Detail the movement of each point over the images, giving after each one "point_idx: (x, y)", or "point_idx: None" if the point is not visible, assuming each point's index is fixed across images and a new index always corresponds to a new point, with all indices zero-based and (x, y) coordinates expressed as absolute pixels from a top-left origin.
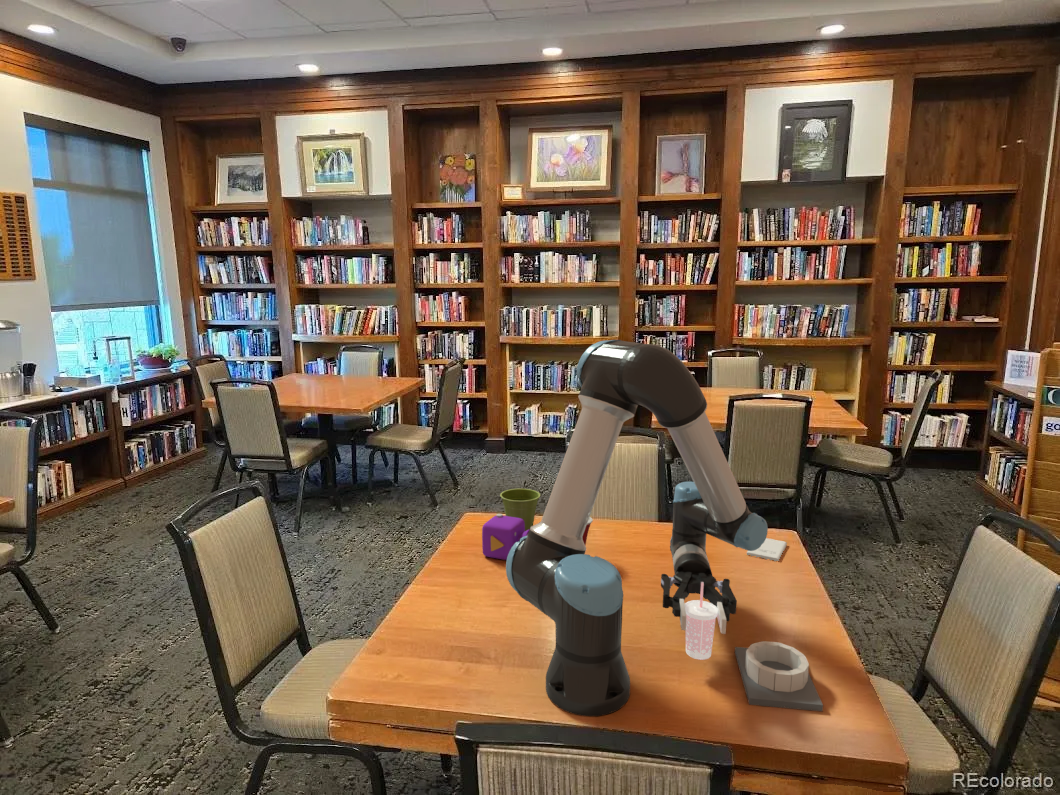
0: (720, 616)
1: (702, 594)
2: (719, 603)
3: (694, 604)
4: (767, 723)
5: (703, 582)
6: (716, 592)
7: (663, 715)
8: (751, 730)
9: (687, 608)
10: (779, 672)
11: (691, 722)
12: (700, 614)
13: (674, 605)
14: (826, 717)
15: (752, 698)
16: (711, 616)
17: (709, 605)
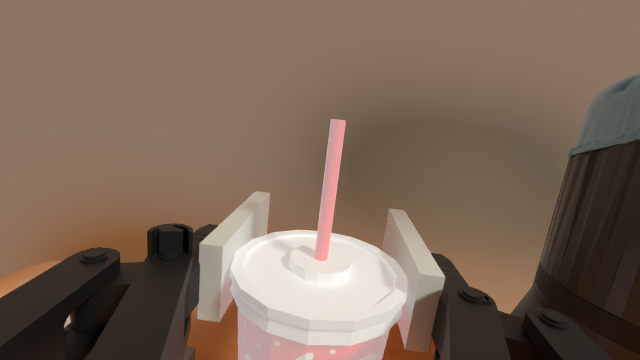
0: (260, 213)
1: (326, 187)
2: (220, 238)
3: (349, 294)
4: (194, 318)
5: (331, 119)
6: (120, 346)
7: (392, 344)
8: (236, 308)
9: (387, 272)
10: None
11: None
12: (330, 241)
13: (455, 274)
14: None
15: (188, 347)
16: (287, 233)
17: (262, 281)
